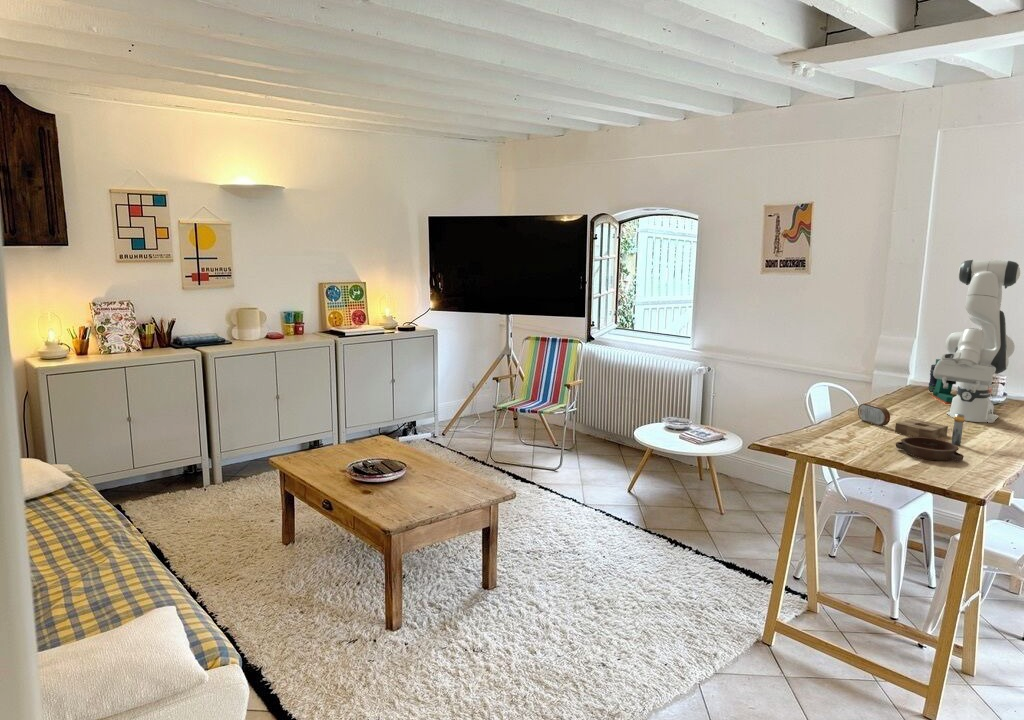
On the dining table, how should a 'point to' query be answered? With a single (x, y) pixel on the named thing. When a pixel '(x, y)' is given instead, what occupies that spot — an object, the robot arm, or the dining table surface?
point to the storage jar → (932, 380)
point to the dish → (930, 448)
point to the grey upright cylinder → (957, 429)
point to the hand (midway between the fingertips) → (958, 389)
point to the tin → (874, 414)
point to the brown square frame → (921, 429)
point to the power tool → (943, 390)
